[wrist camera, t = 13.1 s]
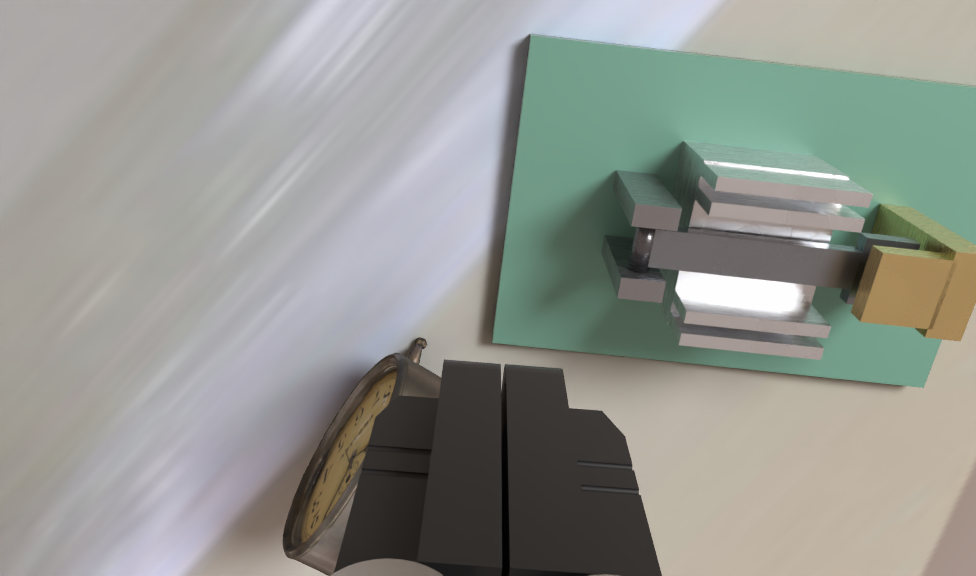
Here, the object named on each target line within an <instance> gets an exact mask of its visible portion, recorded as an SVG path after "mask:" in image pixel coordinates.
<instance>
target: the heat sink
mask: <svg viewBox="0 0 976 576" xmlns="http://www.w3.org/2000/svg"><path fill="white" fill-rule="evenodd" d="M613 191H614V193H615V195H616V197H617V199H618V201H619V203H620V205H621V207H622V209H623V211H624V213H625V215H626V217H627V219H628V221H629V223H630V225H631V226H634V227H643V228H652V229H661V230H670V231H677V230H678V227H685V228H694V229H703V230H712V231H721V232H729V233H738V234H747V235H756V236H765V237H774V238H782V239H791V240H800V241H809V242H818V243H826V244H829V243H830V239H831V236H832V233H833V230H841V231H850V232H859V233H861V231H862V228H863V225H864V221H865V219H864V218H863V217H861V216H860V215H859V214H857V213H856V212H854V211H853V210H851V209H850V208H848V207H847V206H846V205H849V206H858V207H867V208H869V206H870V202H871V199H872V196H873V193H871V192H869V191H868V190H866V189H865V188H863V187H861V186H860V185H858V184H856V183H855V182H853V181H852V180H850V179H849V176H848V175H846V174H844V173H843V172H841V171H839V170H838V169H836V168H835V167H833V166H831V165H830V164H828V163H826V162H825V161H823V160H821V159H820V158H818V157H816V156H814V155H805V154H797V153H788V152H779V151H770V150H761V149H753V148H744V147H735V146H726V145H717V144H709V143H700V142H691V141H684V142H683V146H682V151H681V156H680V161H679V165H678V170H677V175H676V180H675V184H674V189H673V194H672V195H671V194H670V192H669V191H668V190H667V188H666V187H665V186H664V184H663V183H662V182H661V180H660V179H659V178H658V176H657V175H656V174H648V173H639V172H630V171H621V170H616V174H615V179H614V185H613ZM633 239H634V238H629V237H620V236H611V235H604V241H603V246H602V252H601V254H602V256H603V259H604V262H605V265H606V268H607V270H608V273H609V276H610V279H611V282H612V284H613V287H614V290H615V293H616V296H617V298H619V299H629V300H638V301H648V302H657V303H658V305H659V307H660V309H661V311H662V314H663V316H664V318H665V320H666V322H667V324H669V326H670V328H671V330H672V332H673V334H674V336H675V338H676V340H677V343H678V345H682V346H692V347H701V348H711V349H720V350H730V351H739V352H749V353H758V354H768V355H778V356H787V357H797V358H806V359H816V360H821V357H822V354H823V351H824V347H823V346H822V345H821V344H820V343H819V341H818V340H817V339H816V338H815V337H819V338H828V335H829V332H830V329H831V325H830V324H829V323H828V322H827V321H826V320H825V319H824V318H823V317H822V316H821V315H820V313H819V312H818V311H817V310H816V309H815V308H814V307H813V306H812V305H811V302H812V299H813V296H814V292H815V289H816V286H812V285H803V284H794V283H785V282H776V281H767V280H758V279H749V278H741V277H732V276H723V275H714V274H705V273H696V272H687V271H678V270H669V269H660V268H652V267H651V268H650V271H649V272H636V271H633V270H631V269H629V268H628V264H629V259H630V254H631V249H632V244H633Z"/></svg>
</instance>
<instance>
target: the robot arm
mask: <svg viewBox="0 0 976 576" xmlns="http://www.w3.org/2000/svg"><path fill="white" fill-rule="evenodd" d="M330 576H662V574H661V571H660V567H659V563H658V559H657V556H656V552H655V548H654V544H653V540H652V537H651V533H650V529H649V525H648V522H647V518H646V514H645V510H644V507H643V503H642V499H641V495H639V488H638V484H637V480H636V476H635V473H634V470H632V461H631V457H630V454H629V450H628V446H627V442H626V439H625V436H624V435H623V434H622V433H621V431H620V430H619V429H618V428H617V427H616V426H615V425H614V424H613V423H612V422H611V420H610V419H609V418H608V417H607V416H606V415H605V414H604V413H603V412H602V411H597V410H584V409H571V408H569V406H568V399H567V393H566V387H565V380H564V374H563V370H562V369H559V368H546V367H533V366H521V365H508V364H505V367H504V373H503V381H502V390H501V365H500V364H493V363H481V362H468V361H455V360H444V363H443V370H442V378H441V385H440V393H439V398H428V397H415V396H402V395H398V396H397V397H396V398H395V399H394V400H393V401H392V402H391V403H390V404H389V405H388V406H387V407H386V408H384V409H383V410H382V411H381V412H380V413H379V414H378V415H377V416H376V417H375V420H374V424H373V428H372V432H371V435H370V439H369V443H368V450H366V454H365V458H364V462H363V465H362V472H361V474H360V477H359V480H358V484H357V488H356V492H355V495H354V499H353V503H352V507H351V511H350V514H349V518H348V522H347V526H346V529H345V533H344V537H343V541H342V544H341V548H340V552H339V556H338V559H337V563H336V567H335V570H334V572H333V574H332V575H330Z"/></svg>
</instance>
